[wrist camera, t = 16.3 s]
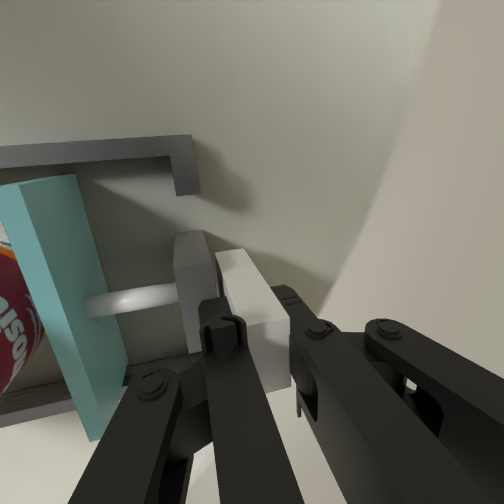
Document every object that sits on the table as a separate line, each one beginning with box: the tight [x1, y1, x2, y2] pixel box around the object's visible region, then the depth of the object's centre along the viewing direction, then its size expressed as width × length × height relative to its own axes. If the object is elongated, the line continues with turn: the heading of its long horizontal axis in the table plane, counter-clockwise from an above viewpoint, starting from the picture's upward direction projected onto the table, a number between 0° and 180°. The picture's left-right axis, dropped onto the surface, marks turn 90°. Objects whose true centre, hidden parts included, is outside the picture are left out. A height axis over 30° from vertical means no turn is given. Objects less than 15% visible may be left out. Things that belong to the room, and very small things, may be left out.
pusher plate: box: [0, 174, 217, 442], centre depth 13 cm, size 6×11×5 cm, turn 4°
